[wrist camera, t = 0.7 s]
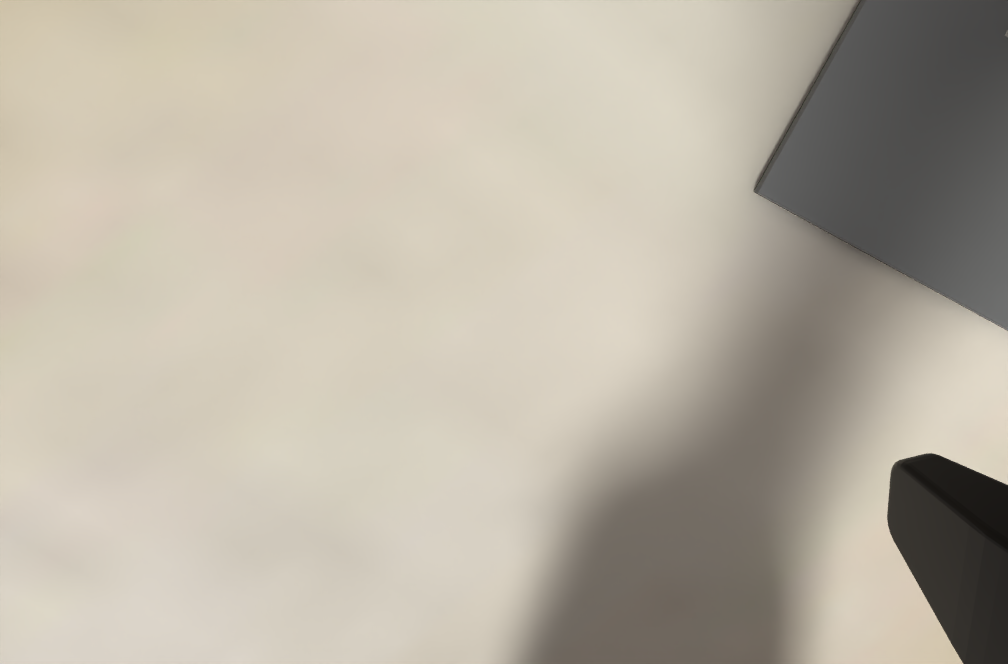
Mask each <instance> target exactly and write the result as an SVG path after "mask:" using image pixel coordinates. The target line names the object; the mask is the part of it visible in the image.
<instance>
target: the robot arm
mask: <svg viewBox="0 0 1008 664" xmlns="http://www.w3.org/2000/svg"><path fill="white" fill-rule="evenodd" d="M887 520H888V526H889V530H890V533H891V535H892V538H893V540H894V542H895V544H896V545H897V547H898V549H899V551H900V553H901V554H902V556H903V558H904V560H905V562H906V563H907V565H908V567H909V569H910V570H911V572H912V574H913V576H914V578H915V579H916V581H917V583H918V585H919V587H920V588H921V590H922V592H923V594H924V595H925V597H926V599H927V601H928V603H929V604H930V606H931V608H932V610H933V612H934V613H935V615H936V617H937V619H938V620H939V622H940V624H941V626H942V628H943V629H944V631H945V633H946V635H947V637H948V638H949V640H950V642H951V644H952V645H953V647H954V649H955V650H956V652H957V654H958V655H959V657H960V659H961V660H962V662H963V664H1008V485H1006V484H1004V483H1002V482H1000V481H997V480H995V479H993V478H990V477H988V476H986V475H983V474H981V473H979V472H976V471H974V470H972V469H970V468H967V467H965V466H963V465H960V464H958V463H956V462H953V461H951V460H949V459H947V458H944V457H942V456H939V455H936V454H932V453H931V454H923V455H918V456H914V457H910V458H906V459H902V460H899V461H897V462H896V463H895V464H894V465H893V467H892V470H891V477H890V489H889V501H888V514H887Z"/></svg>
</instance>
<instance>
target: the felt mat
mask: <svg viewBox="0 0 1008 664" xmlns="http://www.w3.org/2000/svg"><path fill="white" fill-rule="evenodd" d="M1007 31H1008V0H861V2H860V3H859V5H858V7H857V9H856V10H855V12H854V14H853V16H852V18H851V19H850V21H849V23H848V25H847V27H846V28H845V30H844V32H843V34H842V35H841V37H840V39H839V41H838V43H837V44H836V46H835V48H834V50H833V51H832V53H831V55H830V57H829V59H828V60H827V62H826V64H825V66H824V68H823V69H822V71H821V73H820V75H819V76H818V78H817V80H816V82H815V84H814V85H813V87H812V89H811V91H810V92H809V94H808V96H807V98H806V100H805V101H804V103H803V105H802V107H801V109H800V110H799V112H798V114H797V116H796V117H795V119H794V121H793V123H792V125H791V126H790V128H789V130H788V132H787V133H786V135H785V137H784V139H783V141H782V142H781V144H780V146H779V148H778V150H777V151H776V153H775V155H774V157H773V158H772V160H771V162H770V164H769V166H768V167H767V169H766V171H765V173H764V174H763V176H762V178H761V180H760V182H759V183H758V185H757V187H756V189H755V191H754V192H755V193H757V194H759V195H760V196H762V197H764V198H766V199H768V200H770V201H771V202H773V203H775V204H777V205H779V206H781V207H782V208H784V209H786V210H788V211H790V212H792V213H793V214H795V215H797V216H799V217H801V218H803V219H804V220H806V221H808V222H810V223H812V224H813V225H815V226H817V227H819V228H821V229H823V230H824V231H826V232H828V233H830V234H832V235H834V236H835V237H837V238H839V239H841V240H843V241H845V242H846V243H848V244H850V245H852V246H854V247H856V248H857V249H859V250H861V251H863V252H865V253H867V254H868V255H870V256H872V257H874V258H876V259H877V260H879V261H881V262H883V263H885V264H887V265H888V266H890V267H892V268H894V269H896V270H898V271H899V272H901V273H903V274H905V275H907V276H909V277H910V278H912V279H914V280H916V281H918V282H920V283H921V284H923V285H925V286H927V287H929V288H931V289H932V290H934V291H936V292H938V293H940V294H941V295H943V296H945V297H947V298H949V299H951V300H952V301H954V302H956V303H958V304H960V305H962V306H963V307H965V308H967V309H969V310H971V311H973V312H974V313H976V314H978V315H980V316H982V317H984V318H985V319H987V320H989V321H991V322H993V323H995V324H996V325H998V326H1000V327H1002V328H1004V329H1005V330H1007V331H1008V37H1006V36H1005V34H1006V32H1007Z"/></svg>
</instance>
